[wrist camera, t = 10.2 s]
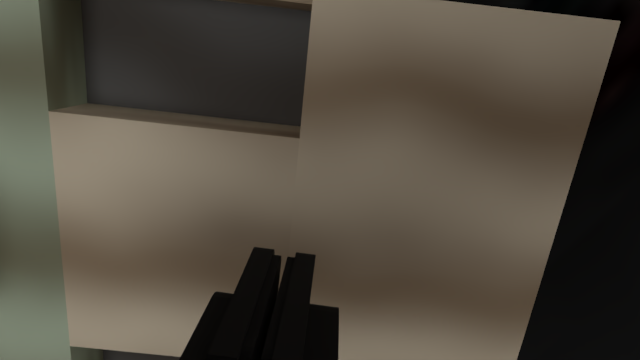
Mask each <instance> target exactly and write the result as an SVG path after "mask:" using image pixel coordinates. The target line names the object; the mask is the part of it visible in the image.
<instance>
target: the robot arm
mask: <svg viewBox="0 0 640 360" xmlns="http://www.w3.org/2000/svg"><path fill="white" fill-rule="evenodd" d="M315 258H316V255H314V254H306V253H299V252H296V254H295V257H287V260H286V264H285V268H284V271H283V275H282V279H281V283H280V287H279V279H280V269H281V256H280V255H275V250H274V249H268V248H260V247H254V248H253V250H252V252H251V254H250V257H249V259H248V261H247V264H246V266H245V268H244V271H243V273H242V275H241V277H240V280H239V282H238V284H237V287H236V289H235V291H234V293H233V294H232V293H225V292H217V291H216V292H214V294H213V295H212V297H211V299H210V301H209V303H208V305H207V307H206V309H205V311H204V313H203V314H202V316H201V318H200V320H199V322H198V324H197V326H196V328H195V330H194V332H193V334H192V336H191V338H190V340H189V342H188V344H187V346H186V347H185V349H184V351H183V353H182V355H181V357H180V359H179V360H338V346H339V307H331V306H324V305H316V304H310V297H311V289H312V281H313V274H314V266H315ZM278 290H279V291H278Z"/></svg>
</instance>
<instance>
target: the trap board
mask: <svg viewBox="0 0 640 360" xmlns="http://www.w3.org/2000/svg"><path fill="white" fill-rule="evenodd" d="M620 22H621V21H615V20H607V19H598V18H590V17H581V16H572V15H564V14H555V13H546V12H538V11H529V10H521V9H512V8H503V7H495V6H486V5H477V4H469V3H460V2H452V1H443V0H0V360H179V359H180V357H181V355H182V353H183V351H184V349H185V347H186V346H187V344H188V342H189V340H190V338H191V336H192V334H193V332H194V330H195V328H196V326H197V324H198V322H199V320H200V318H201V316H202V314H203V313H204V311H205V309H206V307H207V305H208V303H209V301H210V299H211V297H212V295H213V294H214V292H216V291H217V292H225V293H232V294H233V293H234V291H235V289H236V287H237V284H238V282H239V280H240V277H241V275H242V273H243V271H244V268H245V266H246V264H247V261H248V259H249V257H250V254H251V252H252V250H253V248H254V247H260V248H268V249H274V250H275V255H280V256H281V269H280V279H279V287H280V283H281V279H282V275H283V271H284V268H285V264H286V260H287V257H295V254H296V252H299V253H306V254H314V255H316V258H315V266H314V274H313V281H312V289H311V297H310V304H316V305H324V306H331V307H339V346H338V360H517V357H518V354H519V351H520V347H521V344H522V341H523V338H524V334H525V331H526V328H527V325H528V321H529V318H530V315H531V312H532V308H533V305H534V302H535V299H536V295H537V292H538V289H539V285H540V282H541V279H542V276H543V272H544V269H545V266H546V263H547V259H548V256H549V253H550V250H551V246H552V243H553V240H554V237H555V233H556V230H557V227H558V224H559V220H560V217H561V214H562V211H563V207H564V204H565V201H566V198H567V194H568V191H569V188H570V185H571V181H572V178H573V175H574V172H575V168H576V165H577V162H578V158H579V155H580V152H581V149H582V145H583V142H584V139H585V136H586V132H587V129H588V126H589V123H590V119H591V116H592V113H593V110H594V106H595V103H596V100H597V97H598V93H599V90H600V87H601V84H602V80H603V77H604V74H605V71H606V67H607V64H608V61H609V58H610V54H611V51H612V48H613V45H614V41H615V38H616V35H617V31H618V28H619V25H620ZM278 291H279V290H278Z"/></svg>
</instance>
